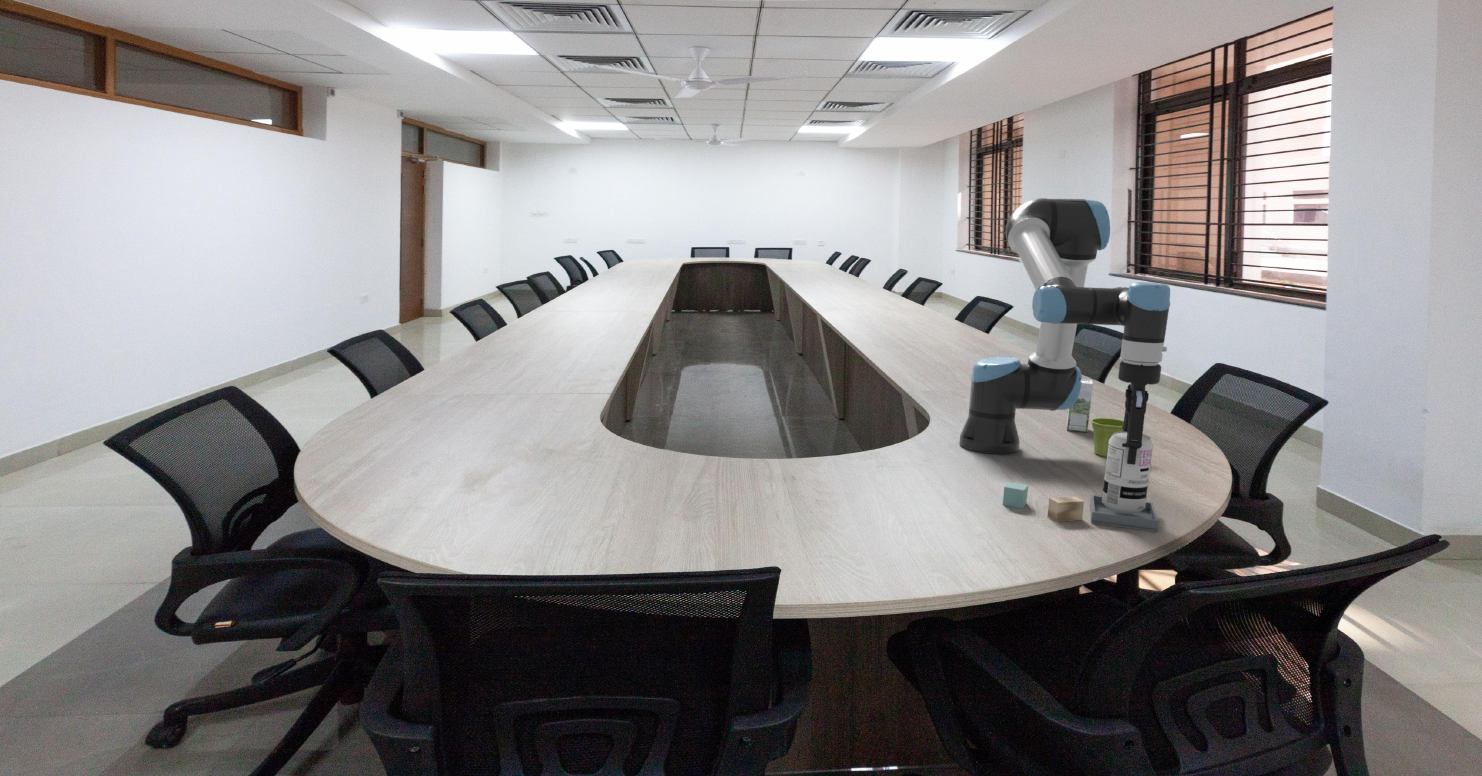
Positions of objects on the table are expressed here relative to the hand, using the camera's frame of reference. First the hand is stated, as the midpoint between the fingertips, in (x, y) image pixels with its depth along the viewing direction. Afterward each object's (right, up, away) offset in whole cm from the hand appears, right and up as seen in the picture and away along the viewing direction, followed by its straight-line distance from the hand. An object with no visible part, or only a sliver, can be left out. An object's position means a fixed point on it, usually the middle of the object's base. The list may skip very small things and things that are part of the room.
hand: (1127, 473), depth 182 cm
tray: (0, -9, +2) cm, 9 cm away
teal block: (-20, -7, +9) cm, 23 cm away
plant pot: (+17, 0, +51) cm, 54 cm away
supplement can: (0, -7, +1) cm, 7 cm away
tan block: (-12, -9, +1) cm, 16 cm away
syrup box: (+19, +5, +78) cm, 80 cm away
